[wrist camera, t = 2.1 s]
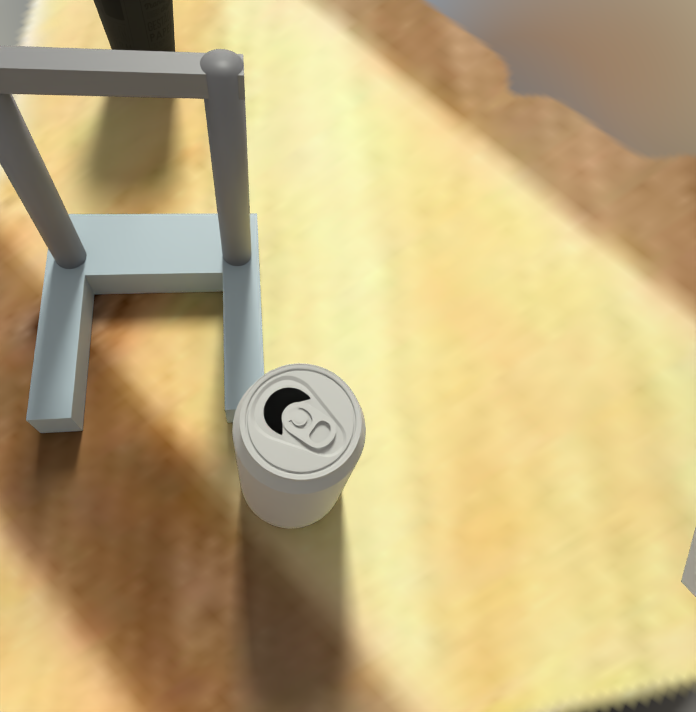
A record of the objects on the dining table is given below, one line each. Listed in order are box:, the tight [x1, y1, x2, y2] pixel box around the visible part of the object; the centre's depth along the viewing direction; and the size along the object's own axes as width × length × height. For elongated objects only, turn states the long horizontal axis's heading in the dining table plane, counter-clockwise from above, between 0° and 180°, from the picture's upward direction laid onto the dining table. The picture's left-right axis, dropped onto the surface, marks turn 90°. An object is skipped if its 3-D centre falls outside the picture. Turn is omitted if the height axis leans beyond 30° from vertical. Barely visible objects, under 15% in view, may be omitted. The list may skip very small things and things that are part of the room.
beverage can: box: [232, 364, 366, 528], centre depth 33 cm, size 6×6×12 cm
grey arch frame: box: [0, 46, 264, 433], centre depth 34 cm, size 15×14×18 cm
